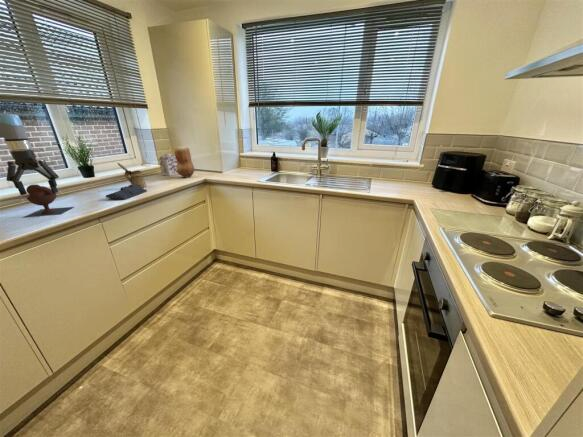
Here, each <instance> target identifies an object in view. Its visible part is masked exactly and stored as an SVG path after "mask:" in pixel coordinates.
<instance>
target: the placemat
mask: <svg viewBox="0 0 583 437" xmlns="http://www.w3.org/2000/svg"><path fill="white" fill-rule="evenodd" d="M73 208H75V206H65V207H54V208H53V207H52V208H50V209H53V210H55V212H53V213H49V214H41V212H43V211H44V210H45V208H41V209H39V210H36V211H33V212H32V213H30V214H27V215H25V216H23V217H22V219H23V218H36V217H49V216H60V215H63V214H64V213H66V212H68V211H70V210H72V209H73Z"/></svg>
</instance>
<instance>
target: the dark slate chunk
mask: <svg viewBox="0 0 583 437" xmlns="http://www.w3.org/2000/svg"><path fill="white" fill-rule="evenodd" d="M147 191H148V190H147V189H146V188H144V187H143V188H142V186H140V185H135V184H131V183H130V184H129V185H127V186H126V185H125V186H122V187H120V190H116V191H114V192H111V193H108V194H106V195H105V198H106V199H107V198H108V199H116V200H127V199H131V198H134V197H136V196H139V195H142V194H143V193H147Z"/></svg>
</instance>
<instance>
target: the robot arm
mask: <svg viewBox="0 0 583 437" xmlns="http://www.w3.org/2000/svg"><path fill="white" fill-rule="evenodd" d="M0 138H3V139H4V141H5V144H6V147H7V148H8V150H9V151H10V152H9V153H10V155H11V157H12V159H13V160H8V161H7V162H6V164H7V173H6V181H7V182H12V183H13V185H14V188H15V189H17V190H18V192H19V194H20V196H24V195H28V193H27V191H26V188H25V185H24V184H23V181H22V180H21V177H22V176H23V174H24V172H25V171H35V172H37V173H39V174H40V175H41V176H43V177H44V178H46V179H47V182H48V185H49V188H50V189H51V190H52V193H56V194H57V193H59V191H58V187H57V186H58V184H57V179H59V178H60V176H59V175H58V174H57V173H56V172H55V171H54V170H53V168H52V167H50V166H49V165H48V163H47V162H46V160H45V159H40V160H38V159H36V154H35V151H34V150H33V149H32V148H33V147H32V145H31V141H30V139H29V138H28V134H27V132H26V130H25V126H24V124H23V122H22V119H21V118H20V116H19V115H17V114H0ZM16 167H17V168H16Z"/></svg>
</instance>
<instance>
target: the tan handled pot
mask: <svg viewBox="0 0 583 437" xmlns="http://www.w3.org/2000/svg"><path fill="white" fill-rule="evenodd" d="M116 164H117V165H118V166H119V167H120V168H121V169H122V170H123V171H124V177H125V179H127V180H128V182H130V185H131V184H135V185H140V186H142V188H143V189H144V188H146V187H147V183H146V181H145V179H144V176H143V173H142V171H141V170H133V171H131V170H129V169H128V168H126V167H125V166H124V165H123V164H122V163H119V162H117V163H116Z"/></svg>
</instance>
